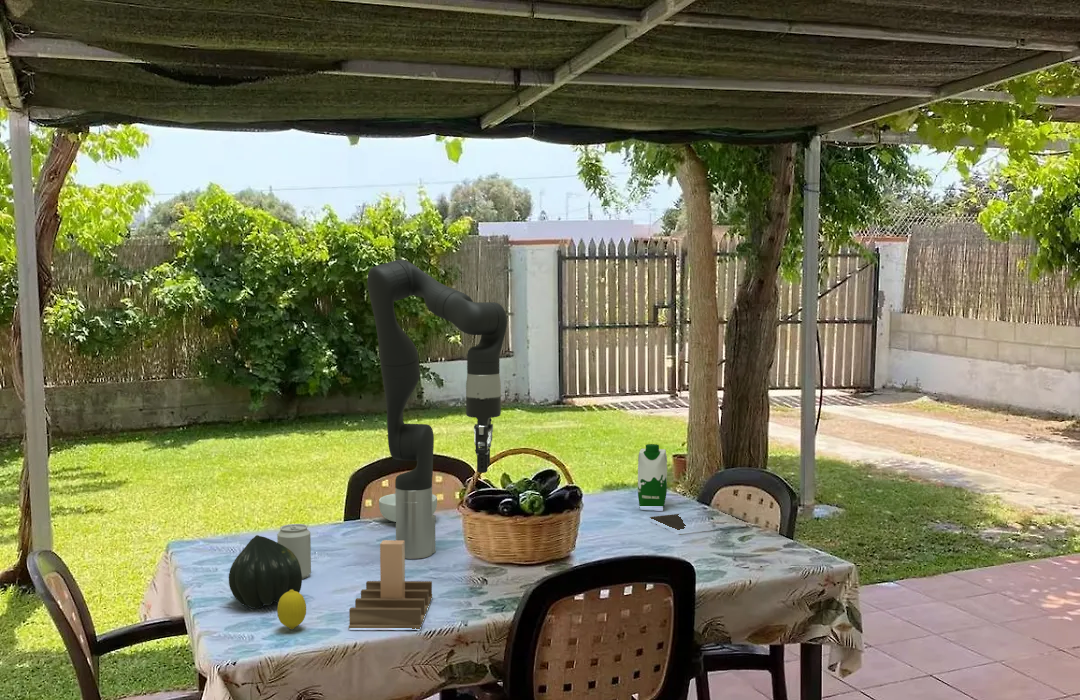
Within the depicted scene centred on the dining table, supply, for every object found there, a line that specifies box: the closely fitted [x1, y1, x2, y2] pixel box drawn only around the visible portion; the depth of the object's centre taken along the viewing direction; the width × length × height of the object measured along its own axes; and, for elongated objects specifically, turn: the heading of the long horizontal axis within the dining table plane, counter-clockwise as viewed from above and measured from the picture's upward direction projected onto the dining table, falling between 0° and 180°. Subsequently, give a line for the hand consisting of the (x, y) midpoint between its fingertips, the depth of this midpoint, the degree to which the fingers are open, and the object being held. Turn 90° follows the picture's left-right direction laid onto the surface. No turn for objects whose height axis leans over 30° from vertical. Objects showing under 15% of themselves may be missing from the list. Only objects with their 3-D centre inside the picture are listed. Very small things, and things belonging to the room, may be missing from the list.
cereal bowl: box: [378, 493, 438, 523], centre depth 277 cm, size 17×17×7 cm
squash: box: [228, 534, 303, 609], centre depth 206 cm, size 14×15×15 cm
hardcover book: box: [649, 510, 749, 530], centre depth 274 cm, size 16×23×2 cm
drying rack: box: [348, 580, 433, 629], centre depth 199 cm, size 20×14×4 cm
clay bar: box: [379, 539, 406, 598], centre depth 199 cm, size 3×4×14 cm, turn 88°
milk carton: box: [637, 443, 668, 507], centre depth 294 cm, size 9×9×20 cm
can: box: [276, 523, 312, 580], centre depth 224 cm, size 8×8×12 cm
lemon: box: [276, 590, 307, 630], centre depth 190 cm, size 6×6×8 cm
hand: (483, 468), depth 209 cm, fingers open, 8 cm apart
